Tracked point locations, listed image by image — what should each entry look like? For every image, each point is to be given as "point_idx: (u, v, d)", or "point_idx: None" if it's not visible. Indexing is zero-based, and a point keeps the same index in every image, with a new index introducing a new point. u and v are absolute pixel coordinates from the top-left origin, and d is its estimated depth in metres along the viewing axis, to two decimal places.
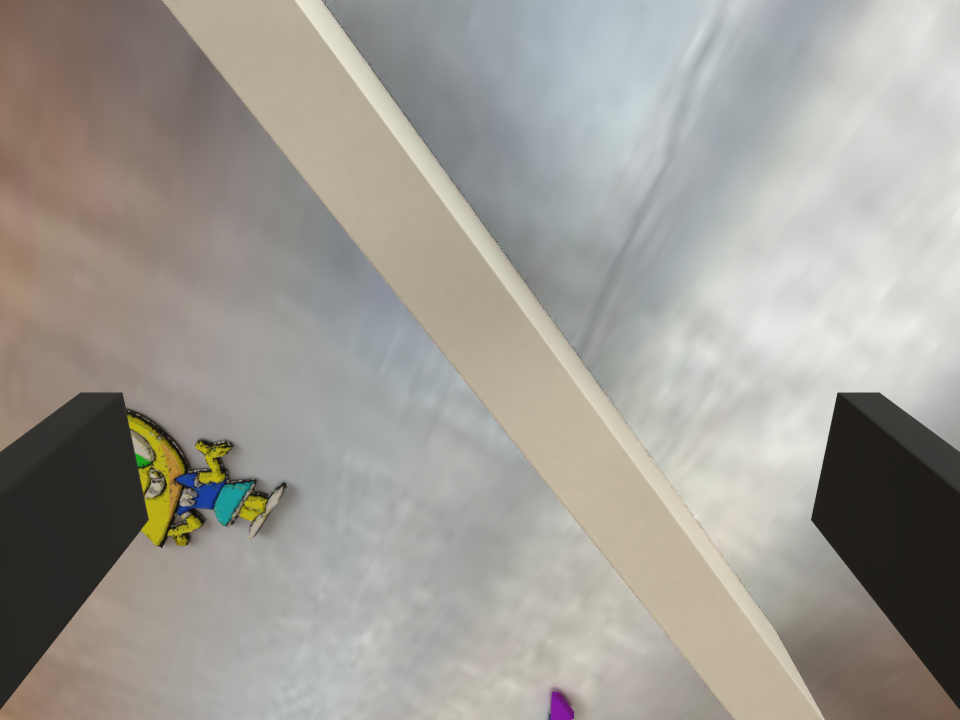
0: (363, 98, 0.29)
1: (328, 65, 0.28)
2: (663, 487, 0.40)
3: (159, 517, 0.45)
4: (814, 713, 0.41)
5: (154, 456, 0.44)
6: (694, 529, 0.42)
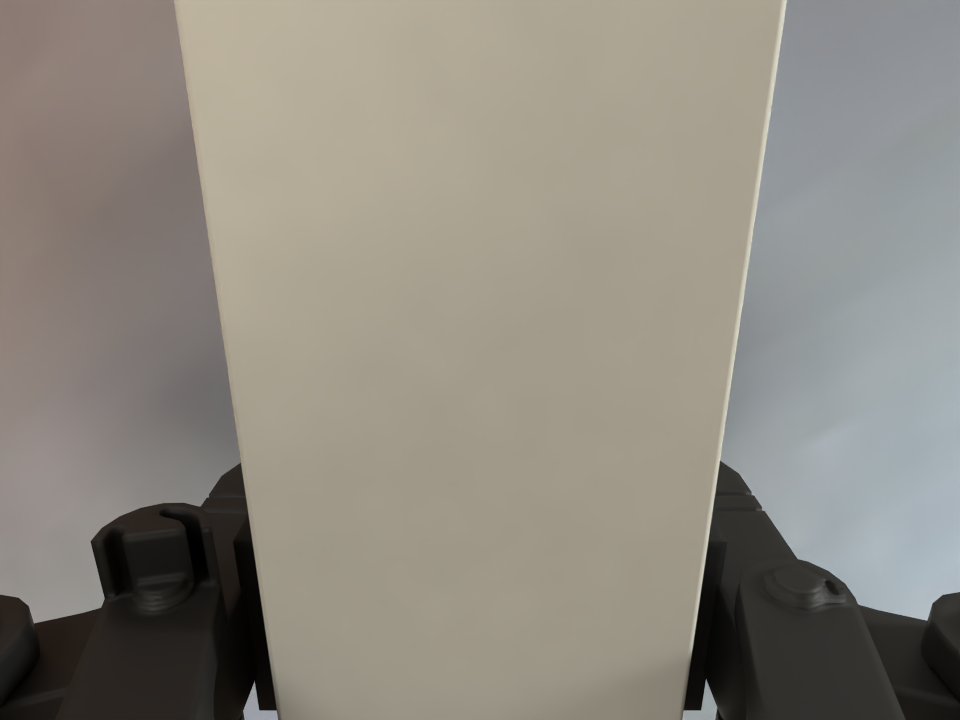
0: None
1: (639, 690, 0.07)
2: None
3: None
4: None
5: None
6: None
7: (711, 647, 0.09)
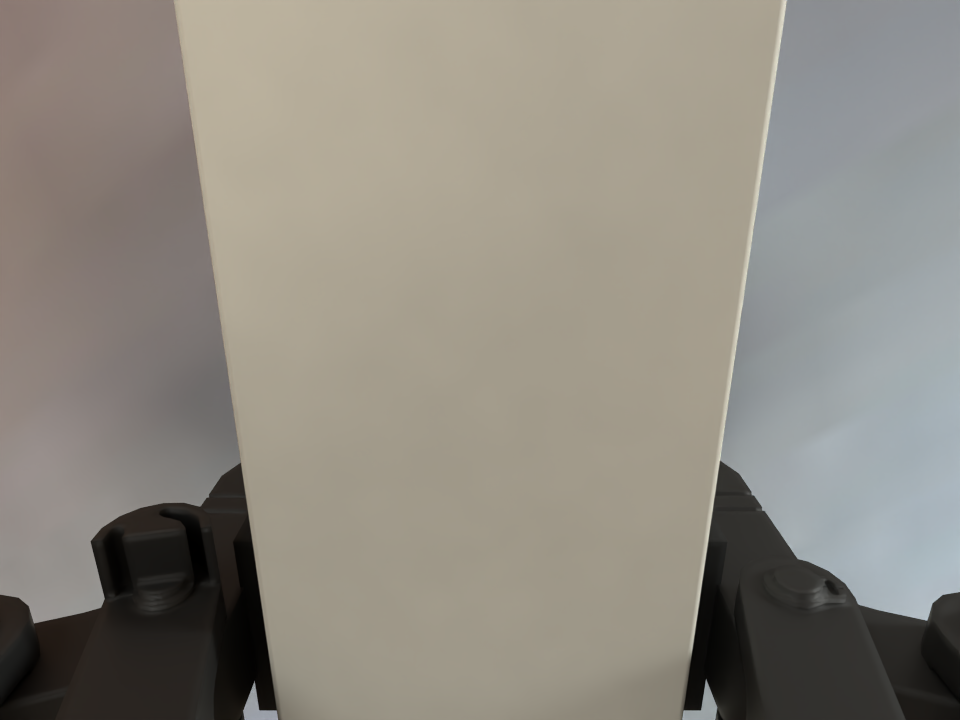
0: None
1: (638, 690, 0.07)
2: None
3: None
4: None
5: None
6: None
7: (711, 647, 0.09)
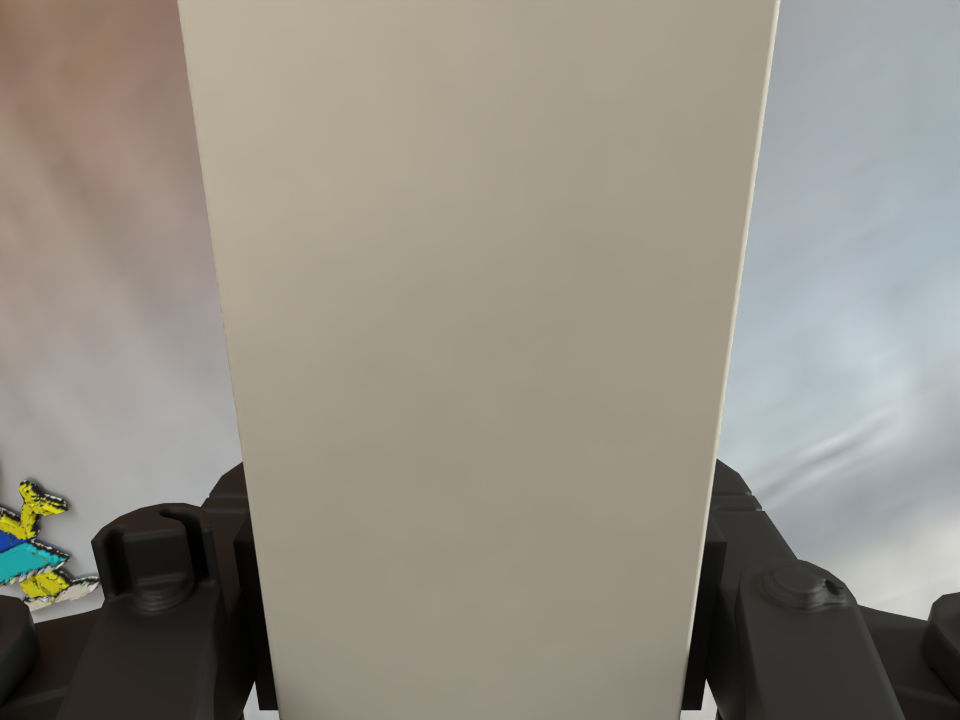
0: None
1: (637, 687, 0.07)
2: None
3: None
4: None
5: None
6: None
7: (711, 648, 0.09)
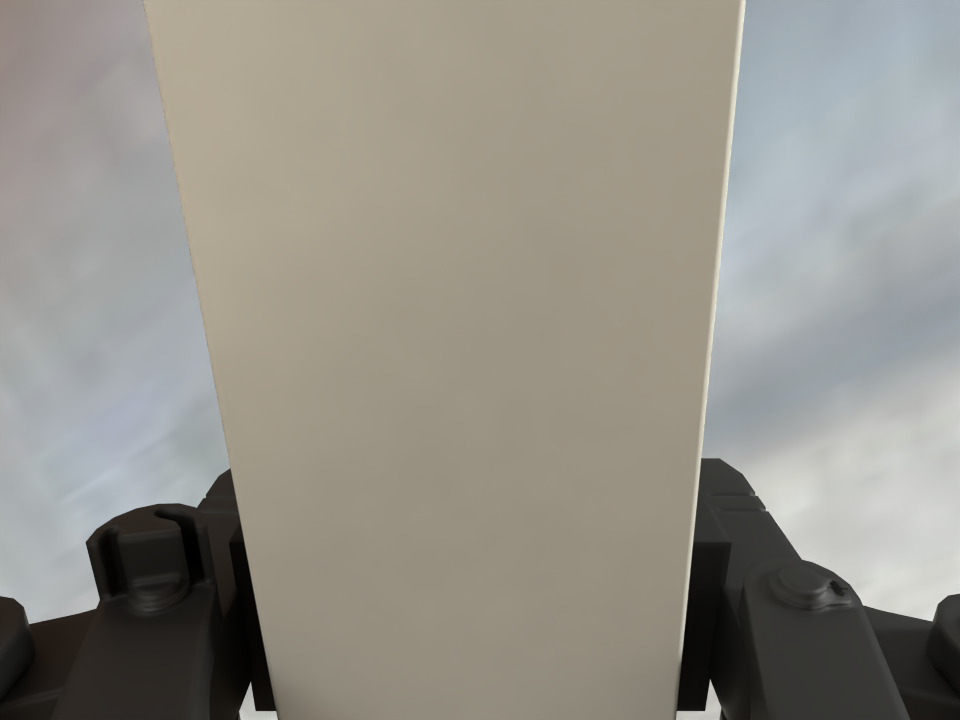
0: None
1: (631, 688, 0.07)
2: None
3: None
4: None
5: None
6: None
7: (716, 648, 0.09)
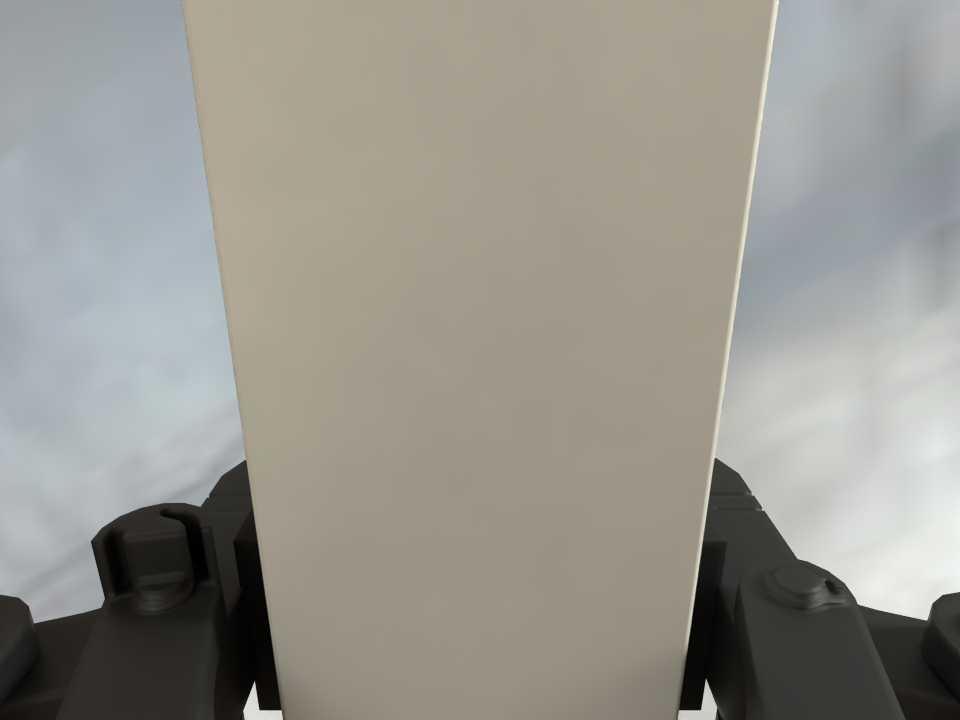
0: None
1: (635, 688, 0.07)
2: None
3: None
4: None
5: None
6: None
7: (711, 647, 0.09)
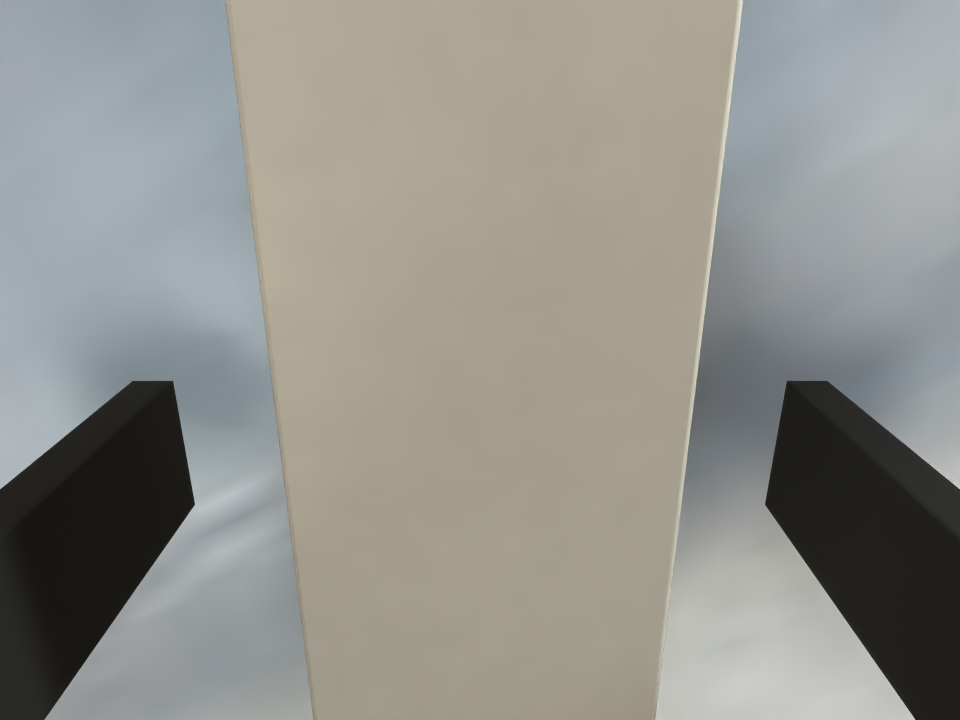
0: None
1: (624, 622, 0.08)
2: None
3: None
4: None
5: None
6: None
7: None
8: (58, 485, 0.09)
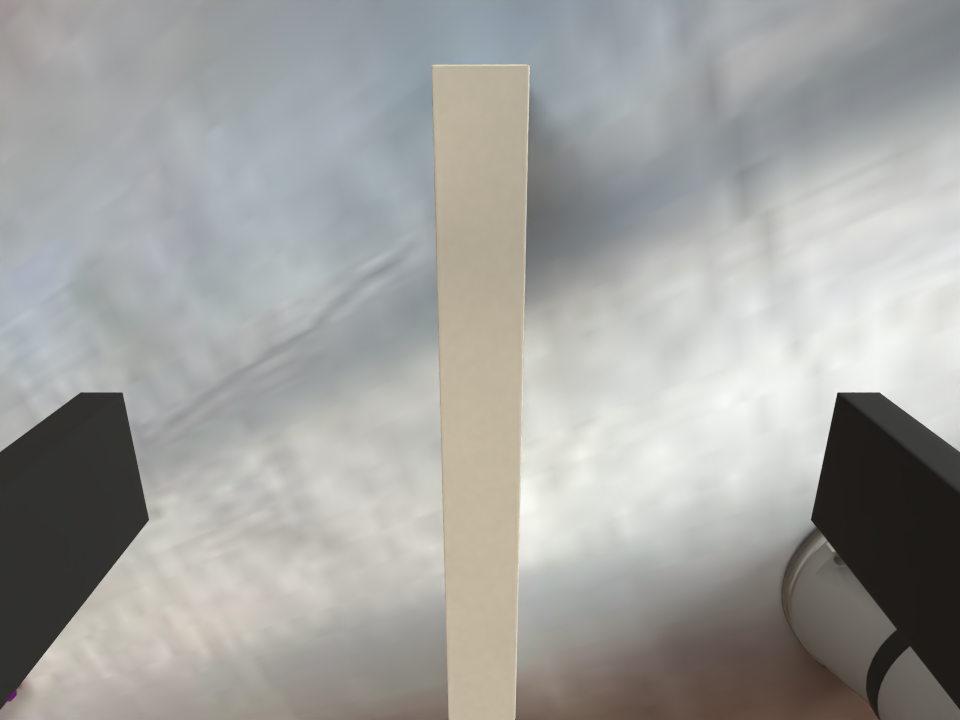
0: (521, 262, 0.34)
1: (515, 225, 0.33)
2: None
3: None
4: None
5: None
6: None
7: None
8: None
